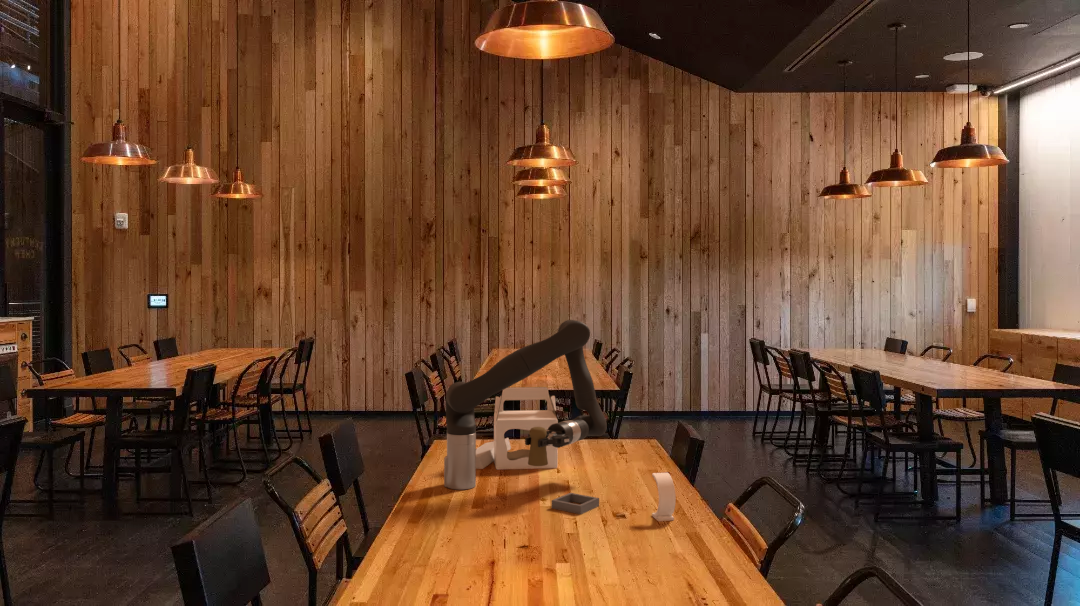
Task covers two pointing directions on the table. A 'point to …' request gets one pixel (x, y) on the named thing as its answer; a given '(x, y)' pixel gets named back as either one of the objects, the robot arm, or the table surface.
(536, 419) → the gable box
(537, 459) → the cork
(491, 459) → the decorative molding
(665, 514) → the white curved bracket
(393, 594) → the table surface
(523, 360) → the robot arm
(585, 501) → the square frame
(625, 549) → the table surface
